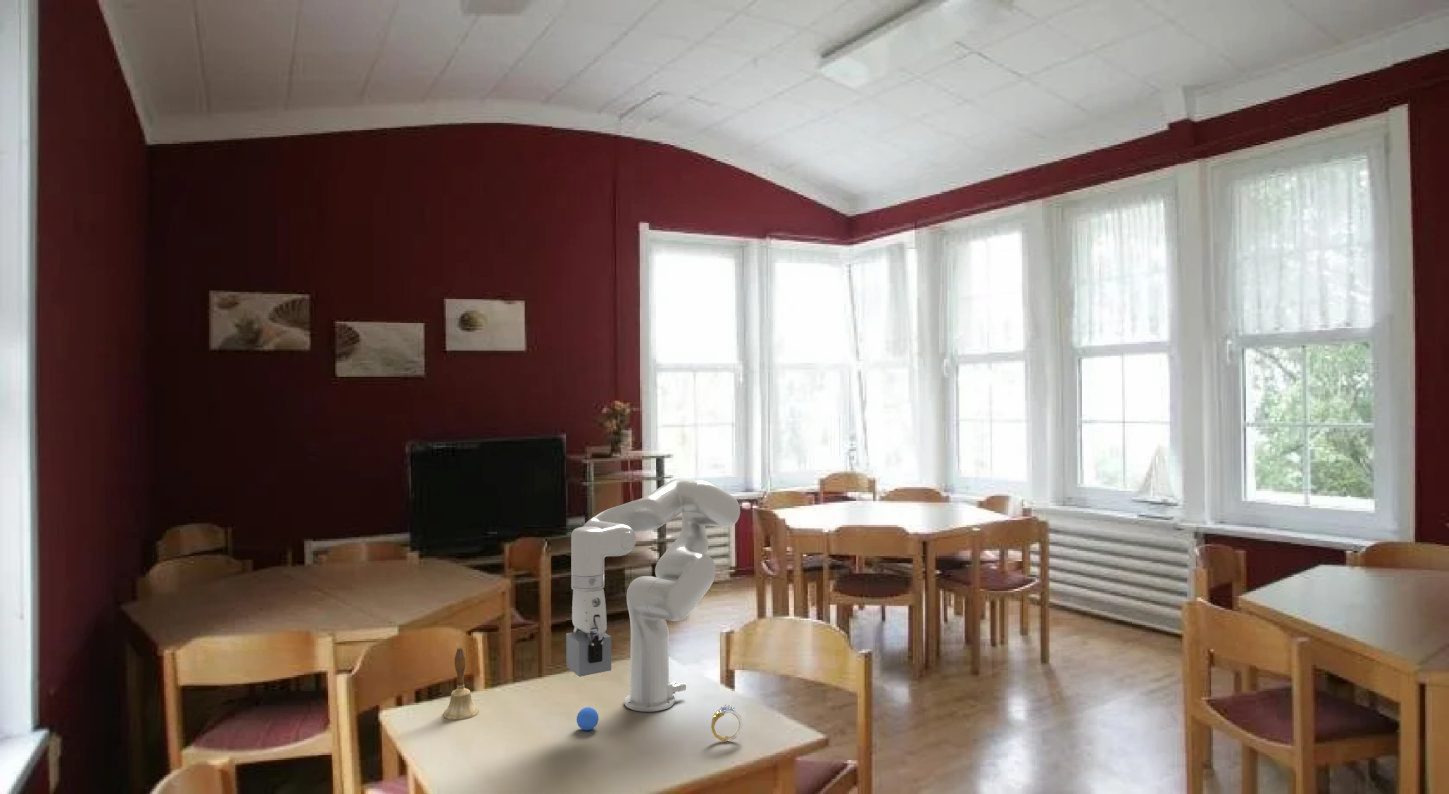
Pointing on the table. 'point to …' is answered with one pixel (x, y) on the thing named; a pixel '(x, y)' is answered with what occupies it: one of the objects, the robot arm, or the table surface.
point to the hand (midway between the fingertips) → (587, 656)
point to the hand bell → (460, 694)
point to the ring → (724, 711)
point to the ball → (587, 718)
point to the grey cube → (586, 654)
